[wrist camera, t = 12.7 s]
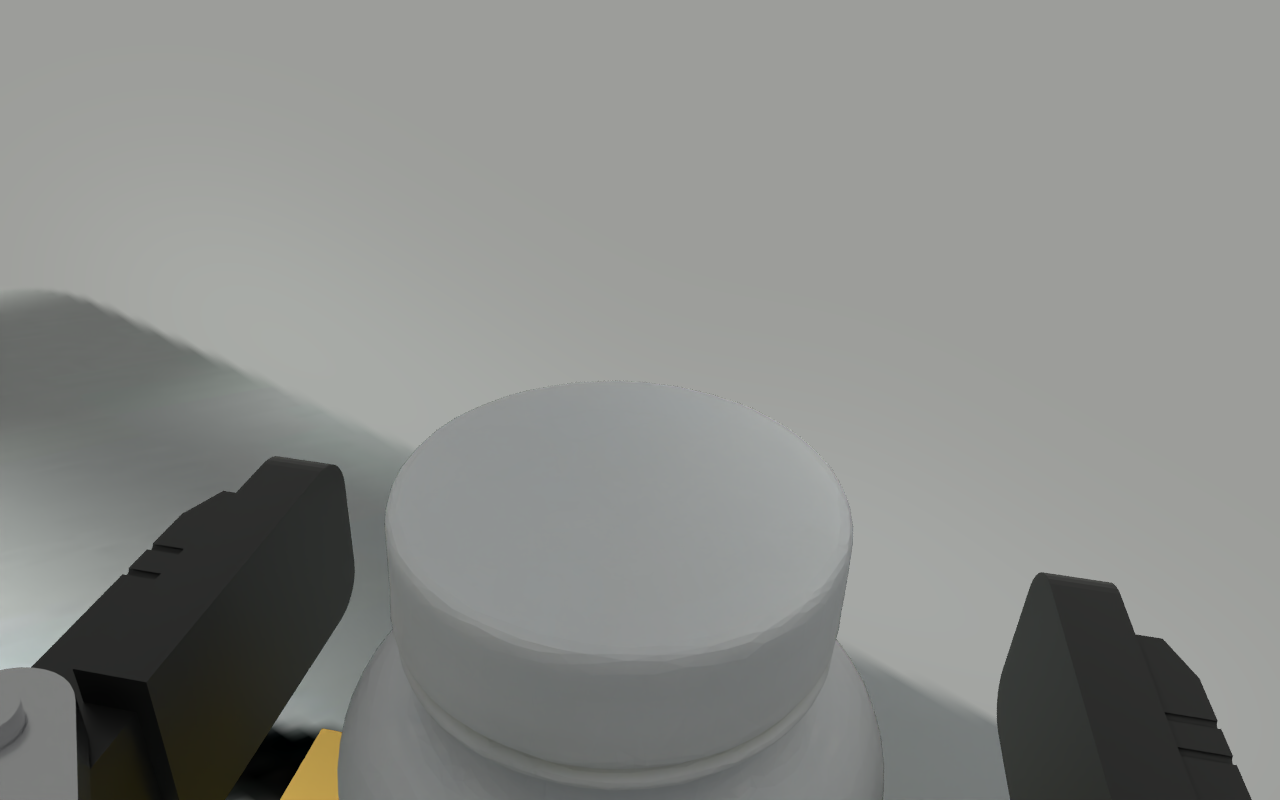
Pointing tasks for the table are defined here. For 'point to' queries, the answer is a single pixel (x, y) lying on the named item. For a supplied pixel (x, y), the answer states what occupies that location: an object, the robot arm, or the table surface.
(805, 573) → the supplement bottle
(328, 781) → the mat
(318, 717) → the table surface
